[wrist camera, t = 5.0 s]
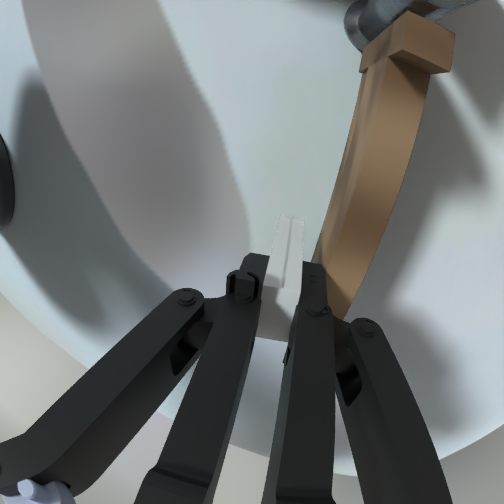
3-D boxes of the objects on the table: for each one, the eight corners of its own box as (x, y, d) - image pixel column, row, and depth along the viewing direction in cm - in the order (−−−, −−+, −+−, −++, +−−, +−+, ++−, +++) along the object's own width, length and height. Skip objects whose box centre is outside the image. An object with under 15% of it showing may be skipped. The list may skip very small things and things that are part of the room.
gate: (360, 49, 12) (409, 4, 5) (391, 60, 12) (463, 33, 4) (296, 286, 21) (285, 386, 14) (321, 292, 21) (320, 392, 14)
